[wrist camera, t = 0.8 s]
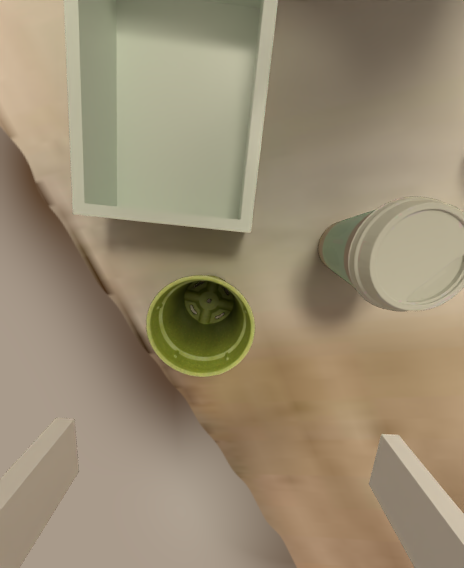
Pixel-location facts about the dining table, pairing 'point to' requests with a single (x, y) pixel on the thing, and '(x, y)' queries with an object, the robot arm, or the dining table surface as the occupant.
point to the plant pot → (200, 326)
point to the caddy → (167, 108)
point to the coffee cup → (400, 253)
